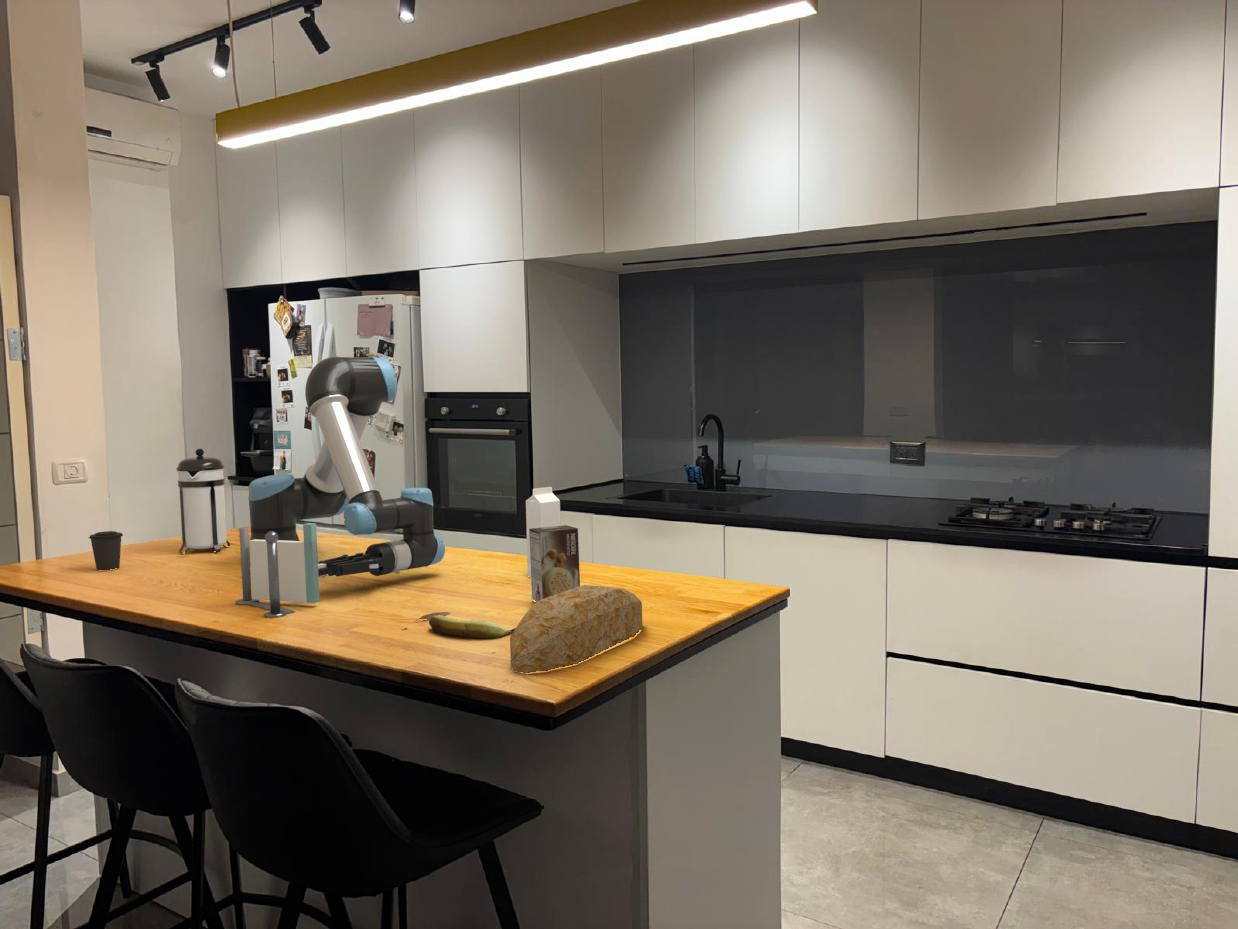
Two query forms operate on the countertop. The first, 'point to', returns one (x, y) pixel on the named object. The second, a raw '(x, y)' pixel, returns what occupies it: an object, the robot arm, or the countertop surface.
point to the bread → (574, 627)
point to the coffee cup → (106, 549)
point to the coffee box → (554, 560)
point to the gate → (281, 567)
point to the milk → (541, 514)
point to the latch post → (273, 575)
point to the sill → (259, 605)
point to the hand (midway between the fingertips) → (298, 574)
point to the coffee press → (202, 503)
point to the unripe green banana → (464, 627)
